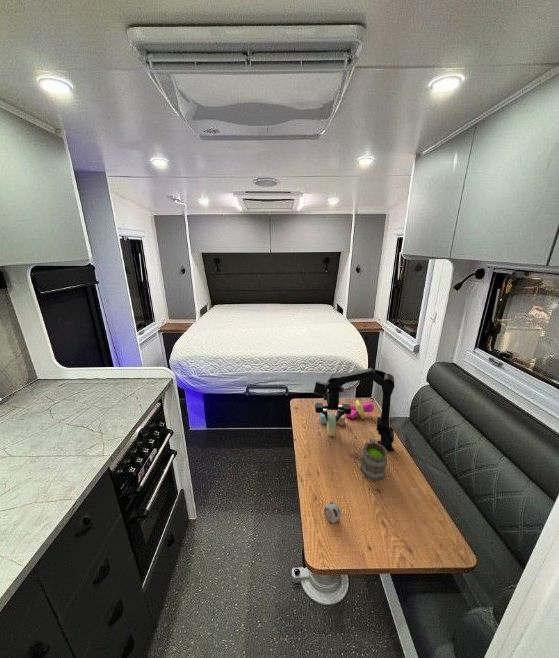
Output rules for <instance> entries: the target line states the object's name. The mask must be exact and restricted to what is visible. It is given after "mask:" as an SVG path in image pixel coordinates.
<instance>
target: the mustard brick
mask: <svg viewBox="0 0 559 658" xmlns="http://www.w3.org/2000/svg"><path fill="white" fill-rule="evenodd" d="M326 432H327V436H329V437H335V436H336V435H335V434H336V427H335V428H329V427H328V422H327V423H326Z"/></svg>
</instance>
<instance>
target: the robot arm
mask: <svg viewBox="0 0 559 658" xmlns="http://www.w3.org/2000/svg"><path fill="white" fill-rule="evenodd" d="M369 379H370V380H372V381H373V382H374V383H376V384H377V385H378V386H380V387H381V392H382V400H381V413H380V414H381V415H380V416H377V420H376V421H377V422H376V431H377V433H378V435H379V436H380V440H377V443H378V444H380V445H383V446H384V447H385V449H386V450H387V451H388V452H394V451H395V449H394V447H393V443H394V441H395V434H394V432H395V431H394V428H393V427H392V426H391V423H390V412H391V411H390V410H391V399H392V394H393V391H394V389H395V377H394V375H392V374H390V373H387V372H384V371H382V370H378V369H375V368H374V367H369V368H366V369H360V370H357V371H350V372H347V373H343V372H334V373H331V375H330V377H329V379H327V381H326V382H321V381H318V380H316V382H315V385H314V389H313V393H314V394H315V395H321V396H323V400H324V401H326V405H324V404H323V402H314V403H315V404H314V408H315V409H314V410H315V413H317V414H320V413H322V414H324V415H325V417H326V421H327V422H328V413H327V412H328V411H336V412H337V415H336V422H337V421H338V420H339V418H340V417H341V416H342V415H346V414H351V413H352V410H351V407H350V405H351V404H349V403H342V404H340V395H341V394H340V393H343V392H344V389H345V388H344V387H343V386H344V385H345V384H348V383H353V382H358V381H362V380H369ZM339 404H340V405H339Z"/></svg>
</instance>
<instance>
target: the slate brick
mask: <svg viewBox="0 0 559 658" xmlns="http://www.w3.org/2000/svg"><path fill="white" fill-rule="evenodd" d="M327 413H331V412H329V411H327ZM319 423H320V424H321V425H324V424H326V425H327V421H326V417H325V415H324V414H322V413H319Z"/></svg>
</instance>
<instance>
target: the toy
mask: <svg viewBox="0 0 559 658" xmlns="http://www.w3.org/2000/svg"><path fill="white" fill-rule="evenodd" d="M349 405H350V407H351V411H352V412H351V414H345V415H346V416H345V417H348V418H351V419H354V418H356V416H357V415H358V416H359V417H360V419H361V420H364V419H365V413H372V412H374V409H375V405H374V404H373V403H372V402H370V401H367V402H365V403H364V404H363V403H362V404H361V402H360V401H359V399H356V400H355V406H354V405H352V404H349Z"/></svg>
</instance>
